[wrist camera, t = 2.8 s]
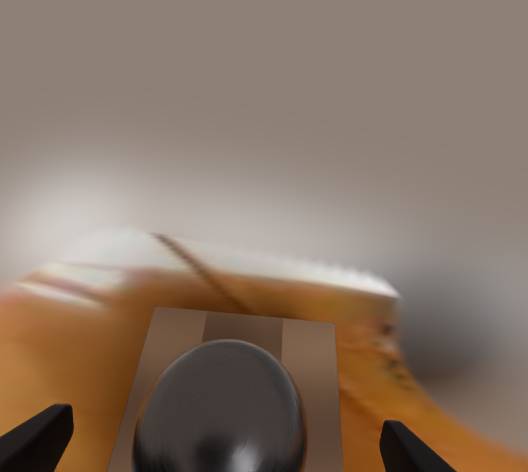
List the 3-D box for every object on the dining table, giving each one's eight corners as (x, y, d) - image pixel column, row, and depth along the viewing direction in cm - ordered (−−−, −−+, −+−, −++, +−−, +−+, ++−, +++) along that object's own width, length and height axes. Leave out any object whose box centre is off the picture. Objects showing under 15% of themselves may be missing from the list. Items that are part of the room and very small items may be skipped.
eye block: (322, 549, 13) (351, 597, 9) (120, 532, 12) (76, 575, 9) (316, 341, 18) (334, 323, 14) (172, 327, 17) (155, 305, 14)
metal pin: (262, 461, 14) (335, 615, 3) (199, 456, 14) (50, 593, 3) (267, 389, 16) (324, 328, 5) (210, 384, 16) (140, 311, 5)
